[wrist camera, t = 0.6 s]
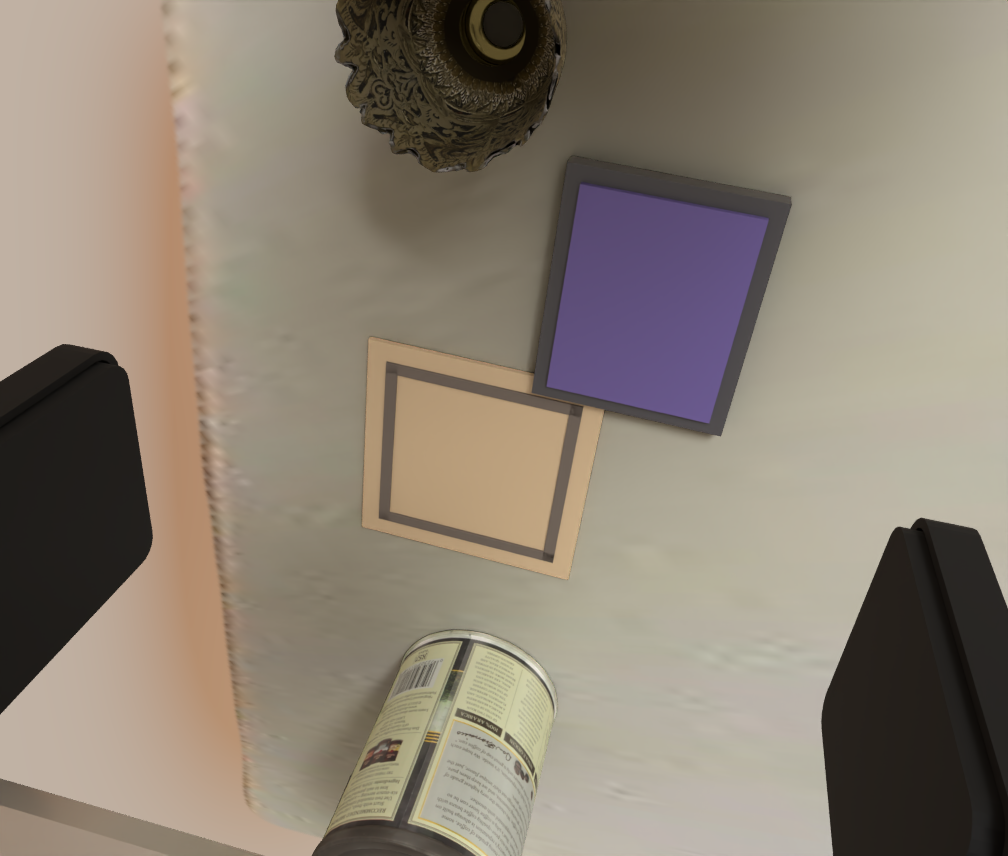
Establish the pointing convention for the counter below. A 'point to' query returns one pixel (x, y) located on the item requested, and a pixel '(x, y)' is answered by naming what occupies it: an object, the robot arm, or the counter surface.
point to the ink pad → (654, 292)
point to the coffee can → (450, 754)
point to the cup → (450, 76)
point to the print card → (474, 458)
